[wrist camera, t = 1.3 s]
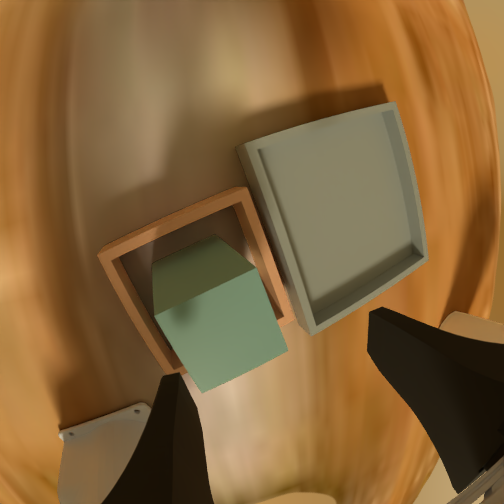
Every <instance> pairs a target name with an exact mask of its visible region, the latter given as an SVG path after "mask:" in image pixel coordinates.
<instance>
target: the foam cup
mask: <svg viewBox="0 0 504 504" xmlns="http://www.w3.org/2000/svg"><path fill="white" fill-rule="evenodd" d="M439 329H441V330H444V331H447V332H450V333H453V334H456V335H460V336H463V337H467V338H472V339H476V340H481V341H486V342H493V343H501V344H504V324H502V323H498V322H494V321H491V320H488V319H484V318H481V317H477V316H473V315H470V314H466V313H462V312H458V311H454V312H452V313H451V314H449V315H448V316H447V318H446V319H445V320H444V321H443V322H442V324H441V326H440V328H439Z"/></svg>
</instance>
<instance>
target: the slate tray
mask: <svg viewBox="0 0 504 504" xmlns="http://www.w3.org/2000/svg"><path fill="white" fill-rule="evenodd" d="M235 148H236V151H237V153H238V156H239V159H240V161H241V164H242V167H243V169H244V172H245V175H246V177H247V180H248V183H249V186H250V188H251V191H252V194H253V196H254V199H255V202H256V205H257V207H258V210H259V213H260V216H261V218H262V221H263V224H264V227H265V229H266V232H267V235H268V238H269V240H270V243H271V246H272V249H273V252H274V254H275V257H276V260H277V263H278V266H279V269H280V271H281V274H282V277H283V280H284V283H285V286H286V288H287V291H288V294H289V297H290V300H291V303H292V306H293V309H294V312H295V314H296V317H297V320H298V323H299V325H300V326H301V327H302V328H303V329H304V330H305V331H306V332H307V333H308V334H309V335H310V336H313V335H315V334H316V333H318V332H320V331H322V330H323V329H325V328H327V327H328V326H330V325H332V324H333V323H335V322H337V321H338V320H340V319H342V318H343V317H345V316H347V315H348V314H350V313H351V312H353V311H355V310H356V309H358V308H359V307H361V306H362V305H364V304H366V303H367V302H369V301H370V300H372V299H373V298H375V297H376V296H378V295H379V294H381V293H382V292H384V291H385V290H387V289H388V288H390V287H391V286H393V285H394V284H396V283H397V282H399V281H400V280H402V279H403V278H404V277H406V276H407V275H409V274H410V273H412V272H413V271H414V270H416V269H417V268H419V267H420V266H421V265H423V264H424V263H425V262H427V261H428V260H429V259H428V249H427V241H426V233H425V226H424V220H423V213H422V207H421V201H420V196H419V191H418V186H417V181H416V176H415V171H414V167H413V163H412V158H411V154H410V150H409V146H408V142H407V139H406V135H405V131H404V128H403V124H402V121H401V118H400V114H399V111H398V108H397V105H396V102H390V103H385V104H381V105H376V106H372V107H367V108H363V109H359V110H355V111H351V112H347V113H343V114H339V115H335V116H331V117H328V118H324V119H320V120H317V121H313V122H310V123H306V124H303V125H300V126H296V127H293V128H290V129H286V130H283V131H280V132H277V133H274V134H271V135H268V136H265V137H262V138H259V139H256V140H253V141H250V142H247V143H244V144H242V145H239V146H237V147H235Z"/></svg>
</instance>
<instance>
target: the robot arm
mask: <svg viewBox="0 0 504 504" xmlns="http://www.w3.org/2000/svg"><path fill="white" fill-rule="evenodd" d="M367 352H368V354H369V355H370V357H371V358H372V360H373V362H374V363H375V365H376V366H377V368H378V369H379V371H380V372H381V373H382V375H383V376H384V377H385V378H386V379H387V381H388V382H389V383H390V384H391V385H392V387H393V388H394V389H395V390H396V391H397V392H398V394H399V395H400V396H401V397H402V398H403V399H404V401H405V402H406V403H407V404H408V405H409V407H410V408H411V409H412V411H413V412H414V413H415V415H416V416H417V418H418V419H419V421H420V422H421V424H422V425H423V427H424V429H425V430H426V432H427V434H428V435H429V437H430V439H431V441H432V442H433V444H434V446H435V448H436V450H437V452H438V454H439V456H440V458H441V460H442V462H443V464H444V466H445V469H446V471H447V473H448V476H449V478H450V481H451V484H452V486H453V488H454V490H456V492H457V493H458V494H459V493H460V494H459V495H458V496H457V497H455V498H454V499H452V500H451V501H450V502H448V503H447V504H472V503H473V502H474V501H475V500H476V499H477V498H479V497H480V496H481V495H482V494H483V493H485V494H484V500H483V501H482V502H481V503H480V504H504V344H501V343H493V342H486V341H481V340H476V339H472V338H467V337H463V336H460V335H456V334H453V333H450V332H447V331H444V330H441V329H438V328H435V327H432V326H430V325H427V324H425V323H422V322H420V321H417V320H415V319H412V318H410V317H407V316H405V315H402V314H400V313H398V312H395V311H393V310H390V309H387V308H384V307H380V308H378V309H375V310H373V311H370V312H369V327H368V344H367ZM135 410H139V411H135ZM71 432H72V433H71ZM58 435H59V437H60V438H61V439H62V440H63V441H64V446H63V452H62V458H61V465H60V472H59V479H58V498H59V502H60V504H214V502H213V498H212V494H211V490H210V485H209V479H208V472H207V464H206V456H205V448H204V440H203V431H202V427H201V422H200V418H199V414H198V410H197V406H196V404H195V402H194V400H193V399H192V397H191V395H190V393H189V390H188V388H187V386H186V384H185V382H184V380H183V378H182V376H181V374H180V372H177V373H173V374H168V375H164V376H163V377H162V378H161V381H160V385H159V388H158V391H157V394H156V398H155V400H154V403H153V406H152V409H151V408H150V407H149V406H148V405H147V404H146V403H142V402H141V403H137V404H135V405H132V406H130V407H127V408H124V409H122V410H119V411H116V412H114V413H111V414H108V415H105V416H103V417H100V418H97V419H94V420H91V421H88V422H85V423H82V424H79V425H76V426H73V427H70V428H67V429H64V430H60V431H59V434H58ZM486 471H487V472H486ZM485 472H486V473H485ZM484 473H485V474H484ZM481 475H482V476H481ZM480 476H481V477H480ZM479 477H480V478H479ZM478 478H479V479H478ZM477 479H478V480H477ZM474 481H475V482H474ZM473 482H474V483H473ZM472 483H473V484H472ZM471 484H472V485H471ZM469 485H470V486H469ZM468 486H469V487H468ZM467 487H468V488H467ZM466 488H467V489H466ZM464 489H466V490H464ZM463 490H464V491H463ZM462 491H463V492H462ZM461 492H462V493H461Z"/></svg>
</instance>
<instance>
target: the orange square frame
mask: <svg viewBox="0 0 504 504" xmlns="http://www.w3.org/2000/svg"><path fill="white" fill-rule="evenodd" d="M231 205H233V207H234V210H235V212H236V215H237V217H238V220H239V223H240V225H241V228H242V230H243V233H244V236H245V238H246V241H247V243H248V246H249V249H250V251H251V254H252V256H253V259H254V262H255V264H256V267H257V269H258V272H259V275H260V277H261V280H262V282H263V285H264V288H265V290H266V293H267V295H268V298H269V301H270V304H271V306H272V309H273V312H274V314H275V317H276V319H277V322H278V325H279V327H282V326H284V325H285V324H287V323H289V322H291V321H293V320H295V319H294V316H293V313H292V310H291V307H290V304H289V301H288V299H287V296H286V293H285V290H284V287H283V284H282V282H281V279H280V276H279V273H278V270H277V268H276V265H275V262H274V259H273V256H272V254H271V251H270V248H269V245H268V243H267V240H266V237H265V234H264V232H263V229H262V226H261V223H260V221H259V218H258V215H257V212H256V210H255V207H254V204H253V201H252V199H251V196H250V193H249V191H248V188H247V187H236V186H235V187H233V188H231V189H228V190H226V191H223V192H221V193H218V194H216V195H214V196H211V197H209V198H207V199H204V200H202V201H200V202H197V203H195V204H193V205H190V206H188V207H186V208H184V209H181V210H179V211H177V212H175V213H172V214H170V215H168V216H166V217H164V218H161V219H159V220H157V221H155V222H153V223H151V224H148V225H146V226H144V227H142V228H140V229H138V230H136V231H134V232H132V233H129V234H127V235H125V236H123V237H121V238H119V239H117V240H115V241H113V242H111V243H109V244H107V245H105V246H103V248H102V249H101V251H100V252H99V253H98V255H97V256H98V258H99V260H100V262H101V264H102V266H103V268H104V270H105V272H106V274H107V276H108V278H109V280H110V282H111V284H112V286H113V288H114V289H115V291H116V293H117V295H118V297H119V299H120V300H121V302H122V304H123V306H124V308H125V309H126V311H127V313H128V315H129V316H130V318H131V320H132V321H133V323H134V325H135V326H136V328H137V330H138V331H139V333H140V335H141V336H142V338H143V340H144V341H145V343H146V344H147V346H148V348H149V349H150V351H151V352H152V354H153V355H154V357H155V358H156V360H157V362H158V363H159V365H160V366H161V368H162V369H163V370H164V372H165V373H166V375H168V374H173V373H177V372H180V374H181V375H183V374H185V373H188V371H187V370H186V368H185V367H184V365H183V364H182V362H181V360H180V359H179V357H178V356H177V354H176V352H175V351H174V349H173V350H171V351H170V349H169V348H168V346H167V344H166V343H165V341H164V340H163V338H162V336H161V334H160V333H159V331H158V329H157V328H156V326H155V324H154V322H153V321H152V319H151V317H150V315H149V314H148V312H147V310H146V308H145V306H144V305H143V303H142V301H141V299H140V297H139V295H138V294H137V292H136V290H135V288H134V286H133V284H132V282H131V280H130V278H129V276H128V274H127V272H126V271H125V269H124V267H123V265H122V262H121V260H120V258H119V256H121V255H123V254H125V253H127V252H129V251H132V250H134V249H136V248H138V247H140V246H142V245H144V244H146V243H148V242H150V241H153V240H155V239H157V238H159V237H161V236H163V235H165V234H168V233H170V232H172V231H174V230H176V229H179V228H181V227H183V226H185V225H187V224H190V223H192V222H194V221H196V220H199V219H201V218H203V217H205V216H208V215H210V214H212V213H215V212H217V211H219V210H221V209H224V208H226V207H228V206H231Z"/></svg>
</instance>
